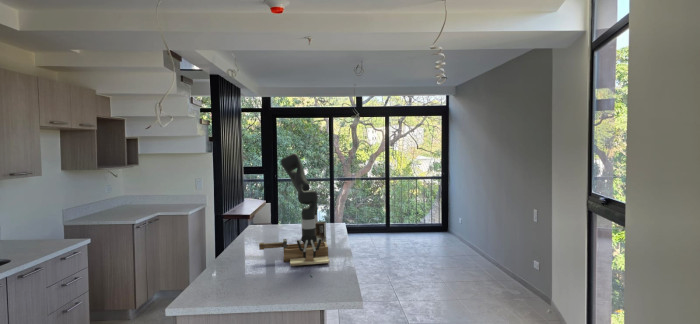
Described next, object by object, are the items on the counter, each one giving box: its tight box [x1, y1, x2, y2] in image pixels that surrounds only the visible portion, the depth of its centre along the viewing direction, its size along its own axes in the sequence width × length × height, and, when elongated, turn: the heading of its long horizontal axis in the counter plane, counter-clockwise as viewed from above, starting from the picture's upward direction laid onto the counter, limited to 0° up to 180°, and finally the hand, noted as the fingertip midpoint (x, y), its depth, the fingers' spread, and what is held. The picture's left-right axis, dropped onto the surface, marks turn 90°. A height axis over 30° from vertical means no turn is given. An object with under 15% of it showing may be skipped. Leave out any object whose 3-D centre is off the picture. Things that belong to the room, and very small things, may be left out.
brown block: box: [258, 241, 283, 251], centre depth 221 cm, size 3×14×3 cm, turn 100°
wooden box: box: [282, 238, 329, 263], centre depth 225 cm, size 12×25×11 cm, turn 100°
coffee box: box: [315, 221, 327, 243], centre depth 245 cm, size 9×6×16 cm
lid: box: [289, 248, 330, 267], centre depth 212 cm, size 9×21×7 cm, turn 100°
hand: (309, 257), depth 213 cm, fingers closed on lid, 4 cm apart
